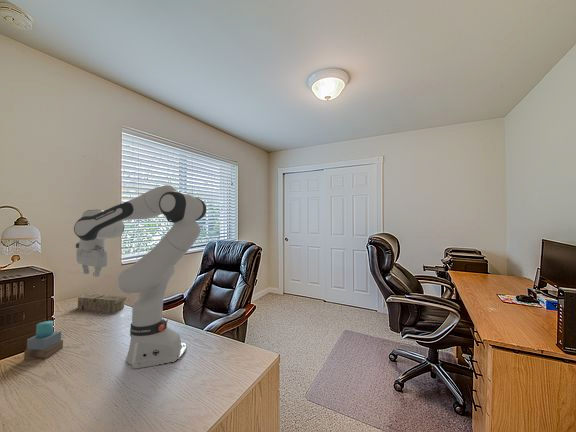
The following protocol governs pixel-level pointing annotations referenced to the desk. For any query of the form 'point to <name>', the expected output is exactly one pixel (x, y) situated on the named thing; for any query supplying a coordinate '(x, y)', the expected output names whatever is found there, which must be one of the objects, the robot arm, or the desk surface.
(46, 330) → the teal cylinder
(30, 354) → the walnut base block
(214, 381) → the desk surface
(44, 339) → the slate-grey upper block
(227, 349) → the desk surface
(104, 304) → the block tower
